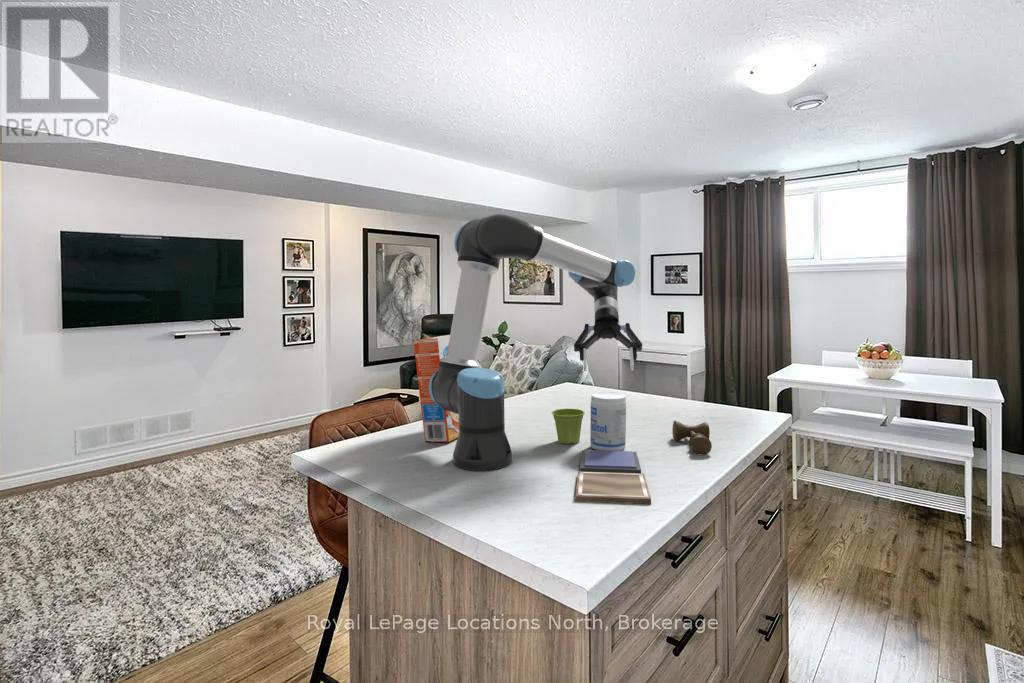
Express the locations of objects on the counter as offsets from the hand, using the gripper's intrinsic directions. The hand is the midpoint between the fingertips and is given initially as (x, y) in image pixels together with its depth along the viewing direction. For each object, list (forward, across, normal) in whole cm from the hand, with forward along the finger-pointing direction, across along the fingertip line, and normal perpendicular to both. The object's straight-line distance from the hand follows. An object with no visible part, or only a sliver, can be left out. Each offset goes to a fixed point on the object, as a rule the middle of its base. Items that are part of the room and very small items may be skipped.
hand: (608, 368), depth 151 cm
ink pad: (+32, +1, +4) cm, 32 cm away
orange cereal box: (+14, +47, -14) cm, 51 cm away
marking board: (+44, +1, +15) cm, 46 cm away
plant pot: (+19, +12, -10) cm, 24 cm away
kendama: (+19, -23, -11) cm, 32 cm away
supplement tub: (+23, +1, -7) cm, 24 cm away
